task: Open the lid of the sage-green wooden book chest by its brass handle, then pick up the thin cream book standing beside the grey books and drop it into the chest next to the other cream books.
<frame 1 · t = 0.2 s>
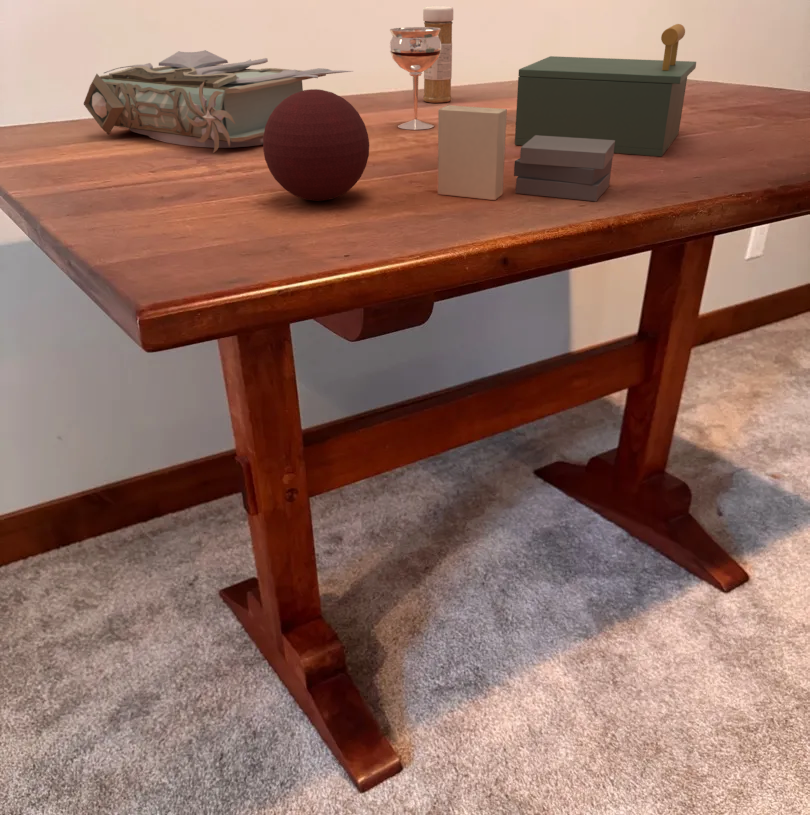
chest: (598, 139, 100), on the table
sprinkles bottle: (437, 102, 127), on the table
cream book: (470, 194, 79), on the table
wineglass: (415, 127, 109), on the table
lid: (611, 48, 95), point 10 cm above the table, hinge at 0.0°
grey books: (562, 189, 80), on the table
ornate book: (220, 133, 107), on the table
decorative ball: (320, 201, 78), on the table
cream books: (563, 137, 102), resting on chest
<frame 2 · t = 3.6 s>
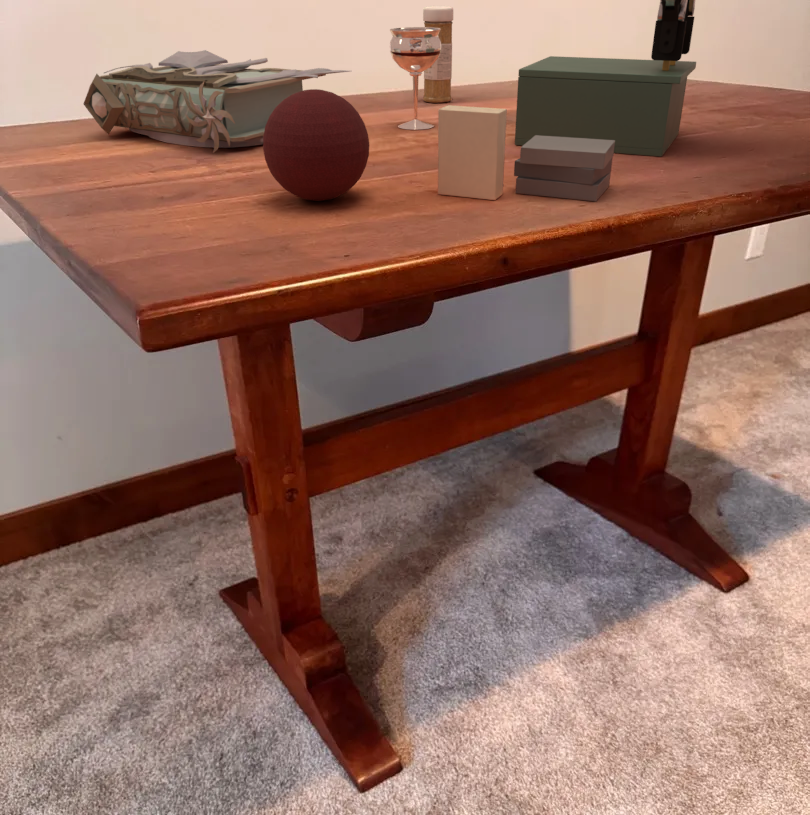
hand: (670, 55, 92), 10 cm above the table, tool pointing down, fingers closed on lid, 6 cm apart
lid: (611, 48, 95), point 10 cm above the table, hinge at 0.0°, touching gripper
everything else where it was.
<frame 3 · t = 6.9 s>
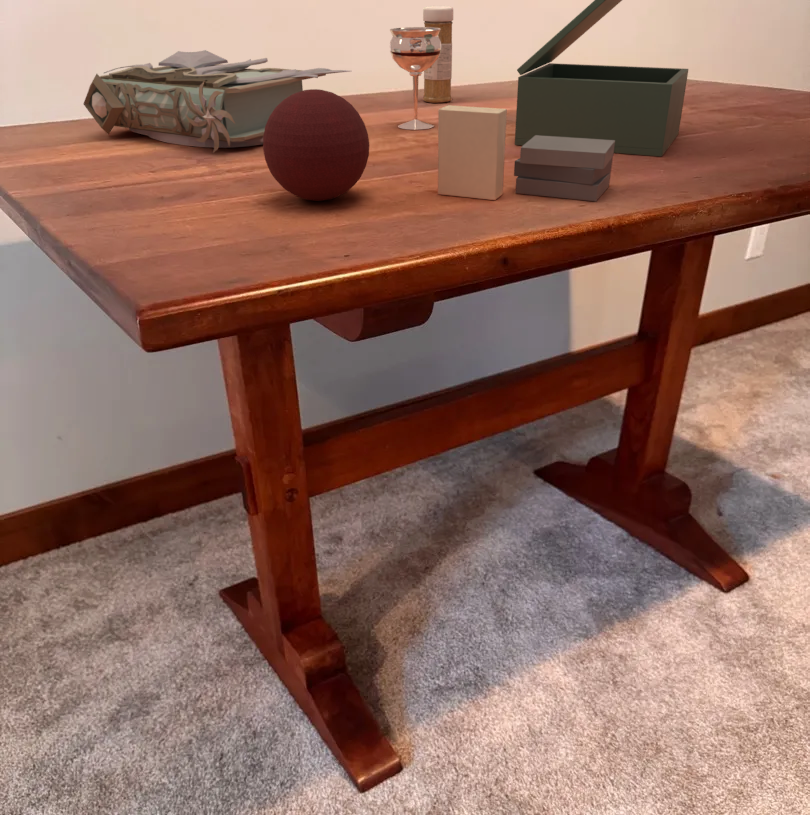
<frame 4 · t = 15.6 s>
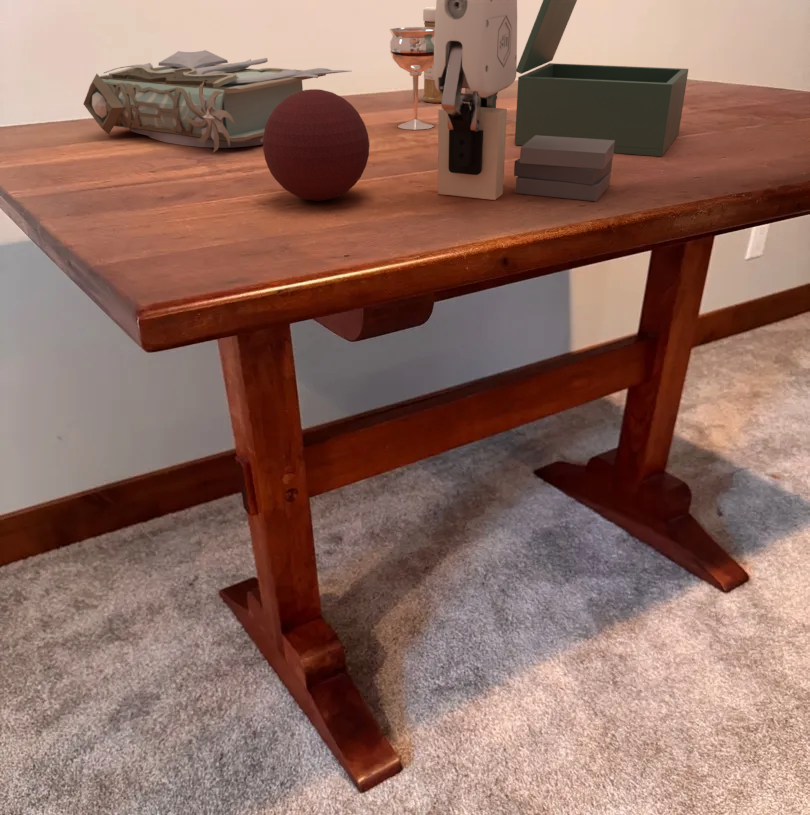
hand: (470, 167, 77), 3 cm above the table, tool pointing down, fingers closed on cream book, 2 cm apart
cream book: (470, 194, 79), on the table, touching gripper
when the fingers open (4 cm above the table, at t = 27.1 s): cream book stays where it is, resting on chest.
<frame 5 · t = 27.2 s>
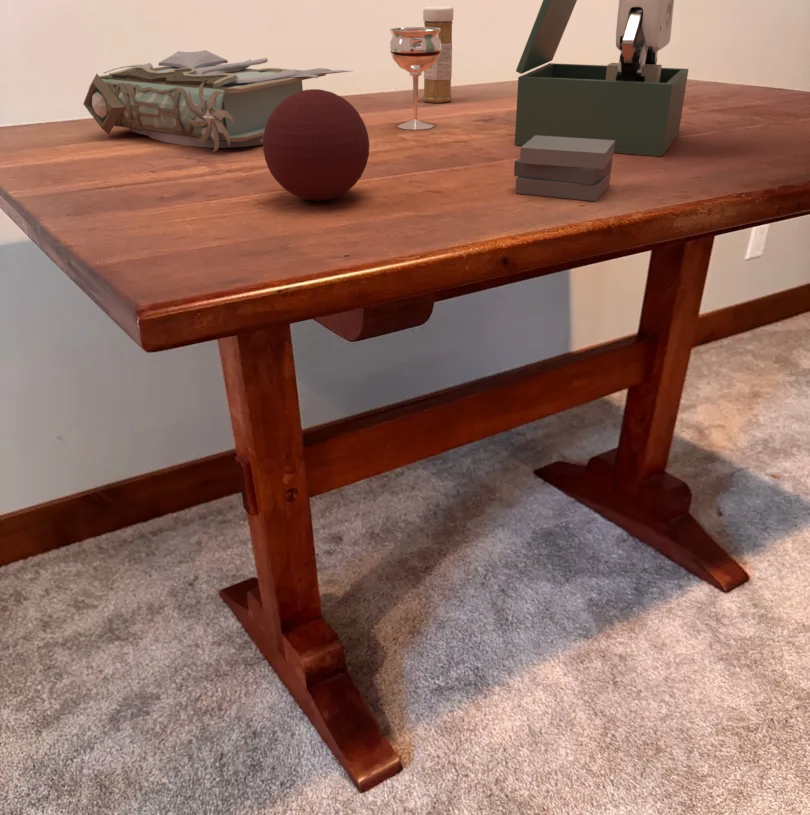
hand: (633, 105, 96), 4 cm above the table, tool pointing down, fingers open, 7 cm apart
cream book: (625, 134, 98), point 1 cm above the table, touching chest
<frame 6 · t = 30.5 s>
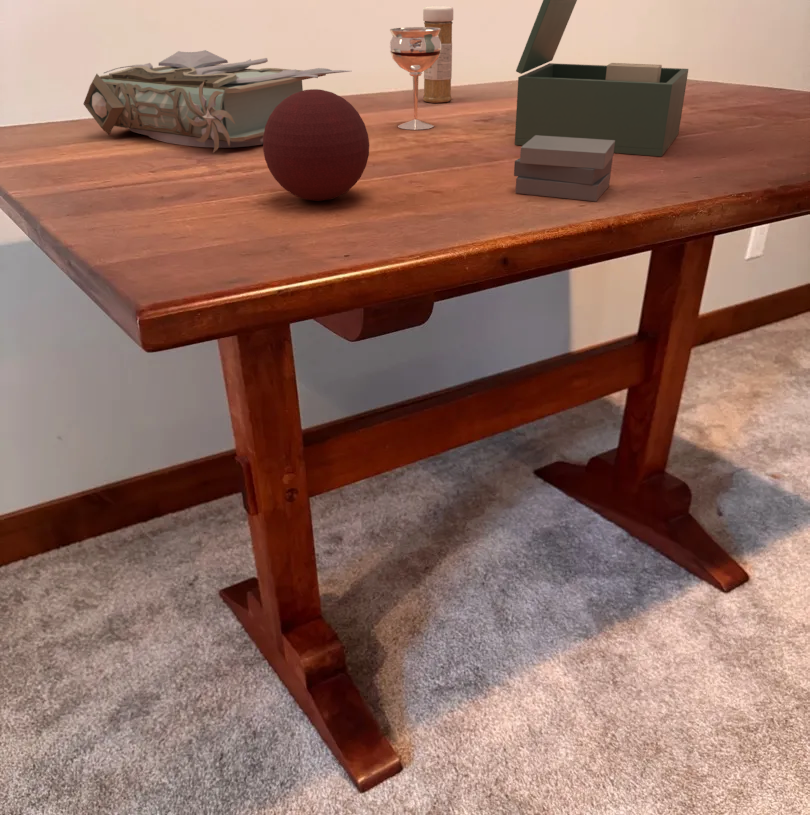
at the end: lid at +70° (first picture: +0°); cream book inside the target area in the chest (3.3 cm from its centre), point 0.8 cm above the chest's base; the gripper is holding nothing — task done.
